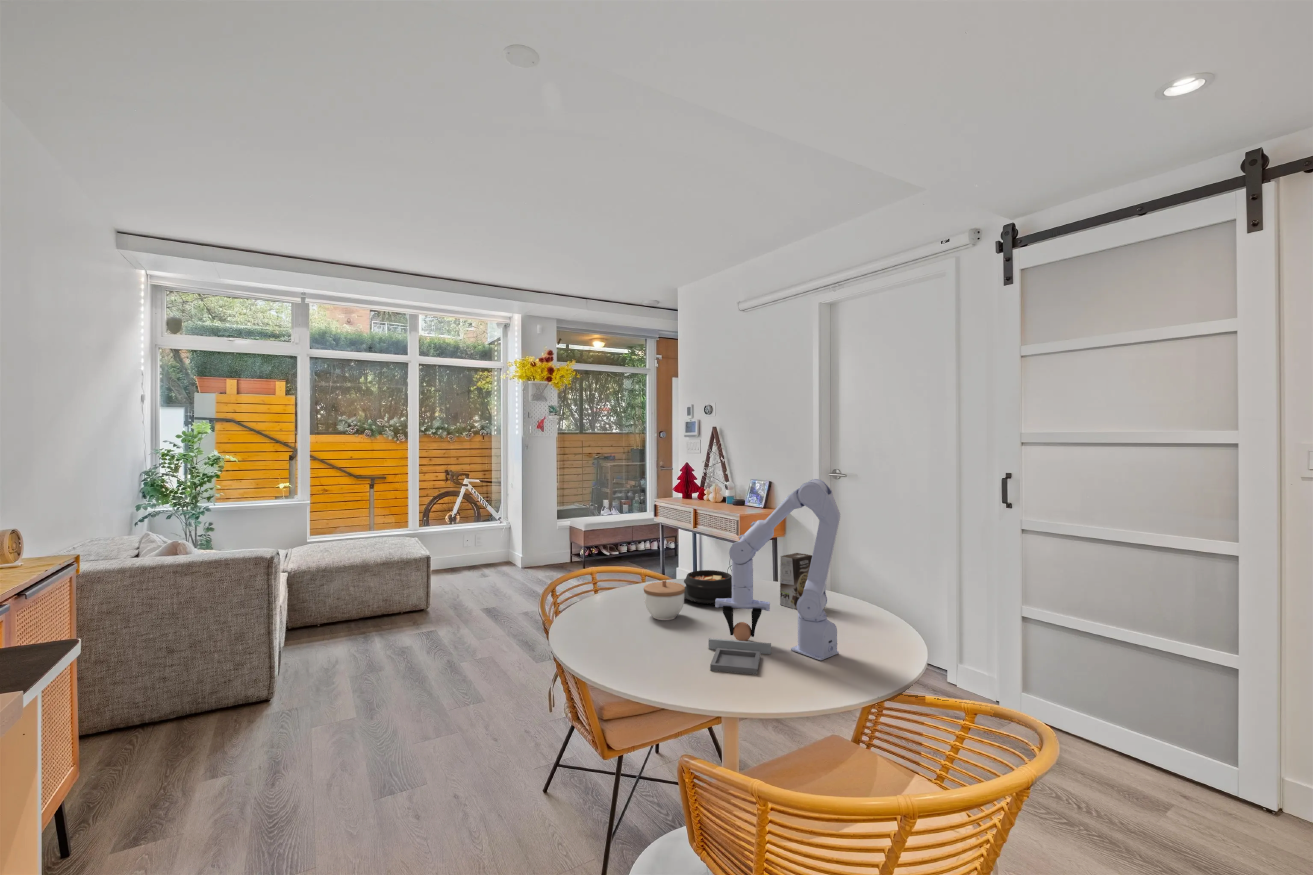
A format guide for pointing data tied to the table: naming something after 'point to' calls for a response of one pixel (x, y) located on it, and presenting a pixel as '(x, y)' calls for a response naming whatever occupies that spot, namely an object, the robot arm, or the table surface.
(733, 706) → the table surface
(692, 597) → the casserole
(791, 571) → the coffee box
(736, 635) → the ball
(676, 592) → the lidded bowl
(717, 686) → the table surface
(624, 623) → the table surface
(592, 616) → the table surface
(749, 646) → the divider
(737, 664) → the coaster
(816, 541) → the robot arm
